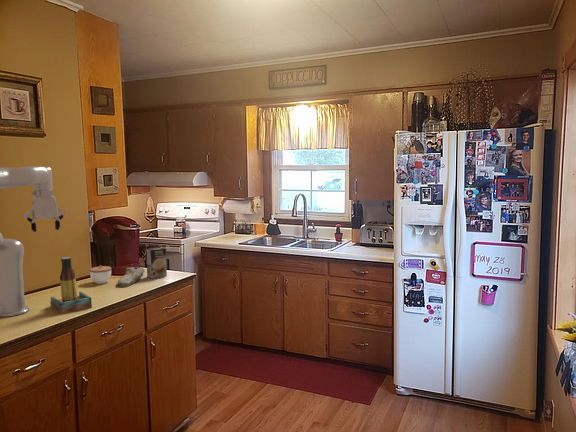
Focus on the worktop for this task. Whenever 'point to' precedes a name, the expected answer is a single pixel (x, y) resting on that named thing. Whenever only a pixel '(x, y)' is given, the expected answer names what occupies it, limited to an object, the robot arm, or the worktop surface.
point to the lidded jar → (100, 274)
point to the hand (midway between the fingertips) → (46, 230)
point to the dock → (71, 304)
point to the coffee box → (156, 263)
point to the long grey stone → (130, 276)
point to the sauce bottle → (68, 281)
